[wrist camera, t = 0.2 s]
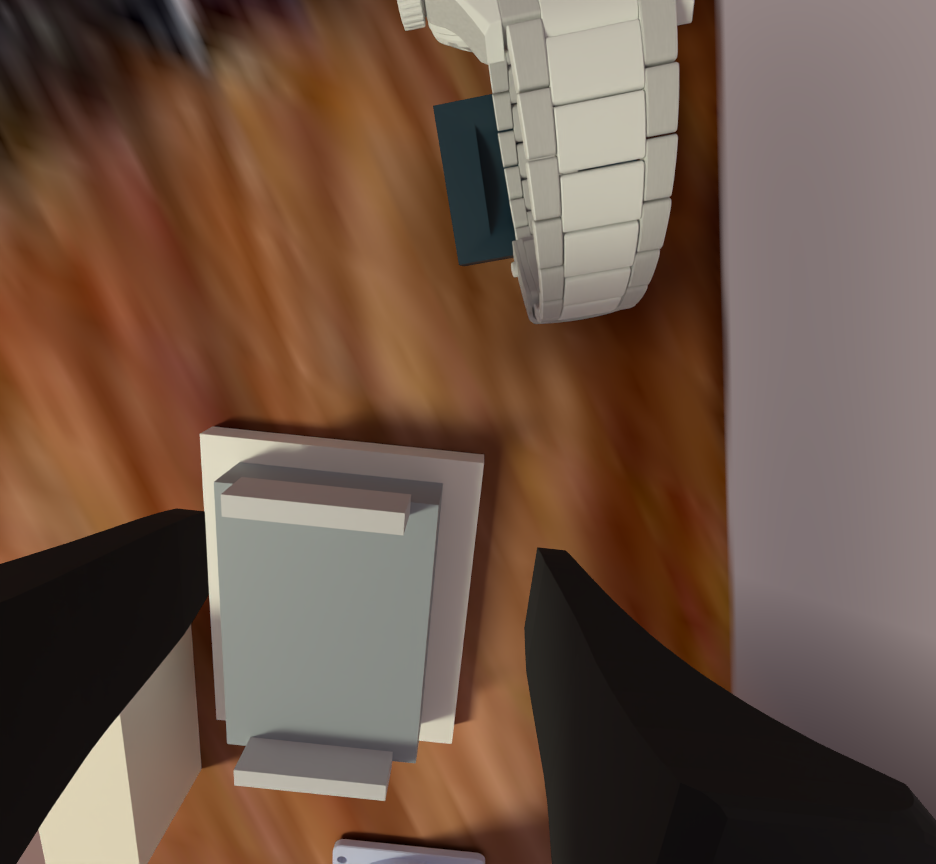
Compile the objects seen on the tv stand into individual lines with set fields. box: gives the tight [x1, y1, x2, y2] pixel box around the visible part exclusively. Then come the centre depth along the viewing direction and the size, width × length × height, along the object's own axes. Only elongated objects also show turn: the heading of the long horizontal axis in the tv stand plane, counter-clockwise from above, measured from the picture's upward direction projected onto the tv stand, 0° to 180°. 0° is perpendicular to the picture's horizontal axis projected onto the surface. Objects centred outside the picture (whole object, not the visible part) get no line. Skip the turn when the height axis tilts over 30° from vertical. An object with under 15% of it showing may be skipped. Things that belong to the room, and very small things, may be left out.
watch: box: [397, 0, 695, 324], centre depth 13 cm, size 6×8×11 cm
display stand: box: [200, 427, 484, 801], centre depth 21 cm, size 14×11×4 cm
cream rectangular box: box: [39, 625, 202, 864], centre depth 23 cm, size 9×4×5 cm, turn 174°
